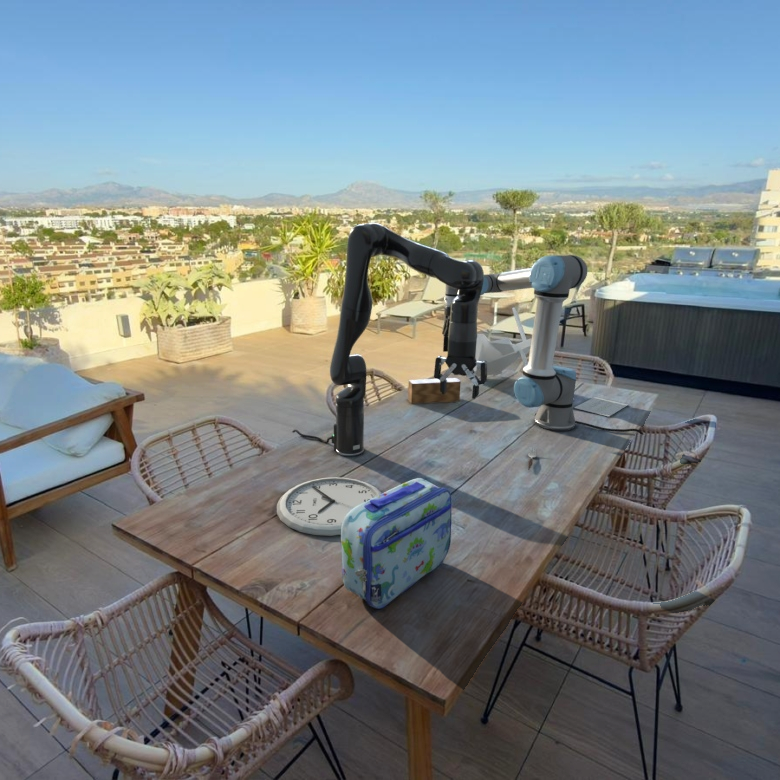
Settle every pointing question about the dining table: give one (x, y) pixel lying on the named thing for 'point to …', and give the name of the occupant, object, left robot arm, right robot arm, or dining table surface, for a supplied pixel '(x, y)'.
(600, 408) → the invitation card
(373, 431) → the dining table surface
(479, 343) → the white plastic object
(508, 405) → the dining table surface
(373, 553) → the lunch box
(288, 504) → the wall clock
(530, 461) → the fork
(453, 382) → the box
